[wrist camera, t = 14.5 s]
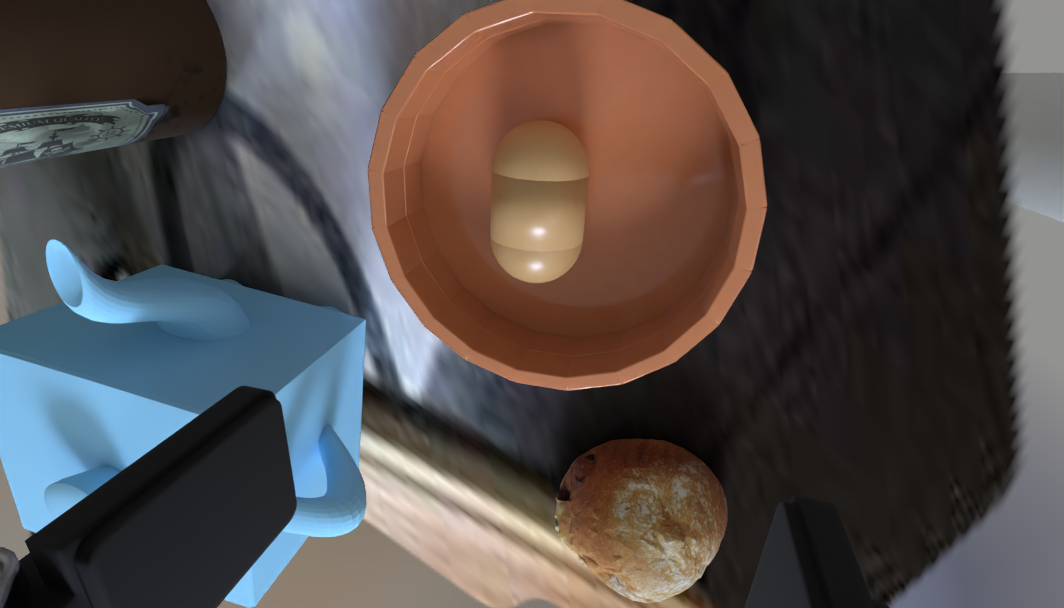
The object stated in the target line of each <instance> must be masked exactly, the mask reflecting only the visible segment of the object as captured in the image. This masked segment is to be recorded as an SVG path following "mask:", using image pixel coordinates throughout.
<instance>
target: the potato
mask: <svg viewBox="0 0 1064 608" xmlns="http://www.w3.org/2000/svg"><path fill="white" fill-rule="evenodd" d="M588 180H589V163H588V158H587V154H586V152H585V149H584V147H583V145H582V144H581V142H580V141H579V139H578V138H577V137H576V136H575V135H574V134H573V133H572V132H571V131H570V130H569V129H567V128H566V127H564V126H562V125H560V124H558V123H555V122H552V121H545V120H534V121H530V122H526V123H523V124H521V125H519V126H517V127H515V128H514V129H512V130H511V131H510V132H508V133H507V134H506V135H505V137H504V138H503V139H502V140H501V141H500V143H499V145H498V147H497V149H496V151H495V154H494V157H493V161H492V169H491V219H490V240H491V247H492V251H493V254H494V256H495V258H496V259H497V261H498V263H499V264H500V266H501V267H502V268H503V269H504V270H505V271H506V272H507V273H509V274H510V275H511V276H513V277H514V278H516V279H519V280H522V281H524V282H528V283H544V282H548V281H552V280H555V279H557V278H558V277H560V276H562V275H563V274H565V273H566V272H567V271H568V270H569V269H570V268H571V267H572V266H573V265H574V263H575V262H576V260H577V258H578V256H579V254H580V251H581V247H582V242H583V234H584V223H585V212H586V202H587V191H588Z"/></svg>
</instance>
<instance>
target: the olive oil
mask: <svg viewBox="0 0 1064 608" xmlns="http://www.w3.org/2000/svg"><path fill="white" fill-rule="evenodd" d="M225 84H226V57H225V51H224V46H223V41H222V38H221V34H220V31H219V28H218V26H217V23H216V21H215V18H214V16H213V14H212V12H211V10H210V8H209V6H208V5H207V3H206V1H205V0H0V168H3V167H8V166H13V165H19V164H24V163H29V162H35V161H40V160H45V159H51V158H56V157H61V156H67V155H72V154H77V153H83V152H88V151H93V150H99V149H104V148H110V147H116V146H122V145H128V144H133V143H138V142H144V141H150V140H156V139H162V138H168V137H174V136H180V135H184V134H188V133H191V132H193V131H196V130H198V129H199V128H201V127H202V126H204V125H205V124H206V123H207V122H208V121H209V120H210V119H211V118H212V117H213V116H214V114H215V113H216V111H217V109H218V107H219V105H220V103H221V100H222V98H223V94H224V90H225Z"/></svg>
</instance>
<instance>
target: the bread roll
mask: <svg viewBox="0 0 1064 608" xmlns="http://www.w3.org/2000/svg"><path fill="white" fill-rule="evenodd" d="M554 502H555V503H557V506H556V508H557V510H556V513H555V518H557V519H558V520H556V521H555V529H556V530H557V531H558V535H559V537H560V539H563V541H564V543H565V544H566V545H568V546H569V547H570V548H571V550H573V551H574V552H575V553H576V554H577V555H578V557H579V560H580V561H581V563H582V564H583V565H585V566H587V567H588V568H589V570H590V571H591V572H592V573H593V574H594V575H596V576H597V577H598V578H599V579H600V580H602V581H603V582H604V583H605V584H606V585H608V586H609V587H611V588H612V589H614V590H615V591H617V592H618V593H620V594H622V595H623V596H625V597H628V598H629V599H630V600H634V601H640V602H644V603H651V602H658V601H663V600H665V599H667V598H669V597H672V596H674V595H676V594H679V593H681V592H683V591H685V590H686V589H688V588H689V587H691V586H692V585H693V584H694V583H695V581H696V580H697V579H698V578H701V576H702V574H703V572H704V570H705V568H706V567H707V566H708V564H709V563H711V561H712V559H713V558H714V557H715V555H716V553H717V551H718V549H719V546H720V543H721V540H722V538H723V536H724V533H725V529H726V525H727V504H726V498H725V494H724V491H723V489H722V486H721V484H720V483H719V481H718V479H717V478H716V476H715V475H714V474H713V472H712V471H711V470H710V468H709V467H708V466H707V465H706V464H705V463H703V462H702V461H701V460H700V459H699V458H697V457H696V456H695V455H693V454H692V453H690V452H689V451H687V450H685V449H684V448H682V447H680V446H677V445H675V444H672V443H670V442H667V441H664V440H654V439H618V440H611V441H608V442H606V443H604V444H602V445H599V446H596V447H594V448H592V449H590V450H589V451H587V452H586V453H584V454H582V455H581V456H579V457H578V458H576V459H575V461H574V462H573V463H572V465H571V466H570V468H569V470H568V471H567V473H566V474H565V476H564V478H563V480H562V483H561V485H560V490H559V491H557V494H556V496H555V497H554Z"/></svg>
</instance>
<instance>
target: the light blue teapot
mask: <svg viewBox="0 0 1064 608" xmlns="http://www.w3.org/2000/svg"><path fill="white" fill-rule="evenodd" d="M46 261H47V266H48V270H49V274H50V277H51V280H52V282H53V284H54V287H55V289H56V290H57V292H58V294H59V296H60V297H61V299H62V300H63V301H64V302H61V303H58V304H56V305H53V306H50V307H48V308H45V309H42V310H40V311H37V312H35V313H32V314H29V315H27V316H24V317H21V318H19V319H16V320H13V321H11V322H8V323H5V324H3V325H0V458H1V461H2V464H3V467H4V470H5V473H6V476H7V479H8V482H9V485H10V488H11V491H12V494H13V497H14V500H15V503H16V506H17V509H18V512H19V515H20V519H21V521H22V526H23V528H25V529H27V530H30V531H32V532H35V533H37V532H38V531H39V530H41V529H42V528H43V527H45V526H46V525H48V524H49V523H50V522H52V521H53V520H55V519H56V518H57V517H59V516H60V515H61V514H63V513H64V512H66V511H67V510H68V509H70V508H71V507H73V506H74V505H75V504H77V503H78V502H79V501H81V500H82V499H84V498H85V497H86V496H88V495H89V494H91V493H92V492H93V491H95V490H96V489H97V488H99V487H100V486H102V485H103V484H104V483H106V482H107V481H109V480H110V479H111V478H113V477H114V476H115V475H117V474H118V473H120V472H121V471H122V470H124V469H125V468H126V467H128V466H129V465H131V464H132V463H133V462H135V461H136V460H138V459H139V458H140V457H142V456H143V455H144V454H146V453H147V452H149V451H150V450H151V449H153V448H154V447H156V446H157V445H158V444H160V443H161V442H162V441H164V440H165V439H167V438H168V437H169V436H171V435H172V434H174V433H175V432H176V431H178V430H179V429H180V428H182V427H183V426H185V425H186V424H187V423H189V422H190V421H192V420H193V419H194V418H196V417H197V416H198V415H200V414H201V413H203V412H204V411H205V410H207V409H208V408H209V407H211V406H212V405H214V404H215V403H216V402H218V401H219V400H221V399H222V398H223V397H225V396H226V395H227V394H229V393H230V392H232V391H233V390H234V389H236V388H238V387H240V386H250V387H255V388H260V389H265V390H269V391H272V392H273V393H274V394H275V396H276V399H277V400H279V401H280V403H281V405H282V411H283V417H284V423H285V430H286V436H287V442H288V448H289V455H290V461H291V467H292V474H293V480H294V486H295V492H296V499H297V507H296V511H295V514H294V516H293V518H292V519H291V521H290V522H289V523H288V525H287V526H286V527H285V528H284V529H283V530H282V532H281V533H280V534H279V535H278V536H277V538H276V539H275V540H274V541H273V542H272V543H271V545H270V546H269V547H268V548H267V549H266V550H265V552H264V553H263V554H262V555H261V556H260V558H259V559H258V560H257V561H256V562H255V563H254V565H253V566H252V567H251V568H250V569H249V570H248V572H247V573H246V574H245V575H244V576H243V578H242V579H241V580H240V581H239V582H238V583H237V585H236V586H235V587H234V588H233V589H232V591H231V592H230V593H229V594H228V595H227V596H226V598H225V599H224V600H227V601H230V602H233V603H236V604H239V605H242V606H245V607H248V608H251V607H255V606H256V604H257V603H258V602H259V601H260V599H261V598H262V597H263V595H264V594H265V593H266V591H267V590H268V589H269V587H270V586H271V585H272V584H273V582H274V581H275V579H276V578H277V577H278V576H279V574H280V573H281V572H282V570H283V569H284V568H285V566H286V565H287V564H288V562H289V561H290V560H291V559H292V557H293V556H294V555H295V553H296V552H297V551H298V549H299V548H300V547H301V545H302V544H303V543H304V542H305V540H306V539H307V537H308V536H314V537H315V536H316V537H333V536H339V535H342V534H346V533H348V532H350V531H352V530H353V529H354V528H356V527H357V526H358V525H359V523H360V522H361V520H362V519H363V517H364V514H365V509H366V490H365V485H364V481H363V478H362V475H361V473H360V470H359V456H360V434H361V413H362V392H363V370H364V350H365V329H366V319H362V318H359V317H355V316H351V315H348V314H344V313H342V312H341V311H340V310H338V309H336V308H334V307H331V306H321V307H318V306H314V305H311V304H307V303H303V302H300V301H296V300H292V299H289V298H285V297H281V296H278V295H274V294H270V293H267V292H263V291H259V290H255V289H252V288H248V287H244V286H242V285H241V284H240V283H238V282H236V281H234V280H231V279H223V280H218V279H214V278H211V277H207V276H203V275H200V274H196V273H192V272H188V271H185V270H181V269H177V268H173V267H170V266H166V265H159V266H156V267H154V268H151V269H148V270H146V271H143V272H140V273H138V274H135V275H132V276H130V277H127V278H124V279H122V280H119V281H112V280H107V279H104V278H102V277H100V276H98V275H96V274H94V273H93V272H92V271H91V270H90V269H89V268H88V267H87V266H86V265H85V264H84V263H82V262H81V261H80V259H79V258H78V257H77V256H76V255H75V253H74V252H73V251H72V250H71V249H69V248H68V247H67V246H66V245H65V244H64V243H62V242H60V241H58V240H50V241H49V242H48V244H47V247H46Z"/></svg>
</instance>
